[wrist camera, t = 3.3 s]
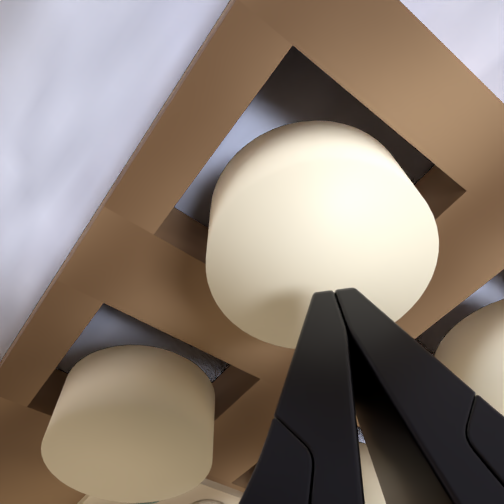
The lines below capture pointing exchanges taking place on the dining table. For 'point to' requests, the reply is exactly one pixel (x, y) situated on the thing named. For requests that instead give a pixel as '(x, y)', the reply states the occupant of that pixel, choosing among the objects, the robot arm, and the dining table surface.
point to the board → (196, 234)
